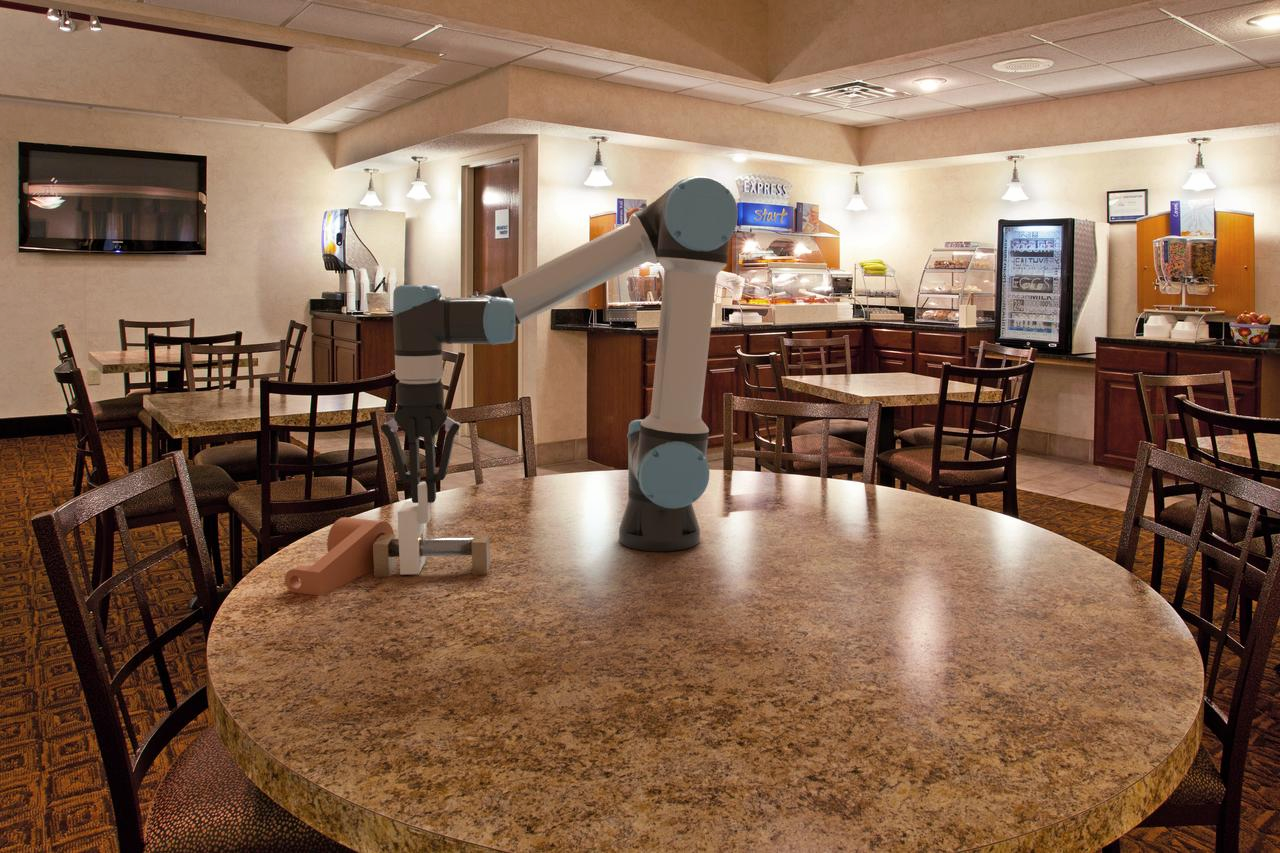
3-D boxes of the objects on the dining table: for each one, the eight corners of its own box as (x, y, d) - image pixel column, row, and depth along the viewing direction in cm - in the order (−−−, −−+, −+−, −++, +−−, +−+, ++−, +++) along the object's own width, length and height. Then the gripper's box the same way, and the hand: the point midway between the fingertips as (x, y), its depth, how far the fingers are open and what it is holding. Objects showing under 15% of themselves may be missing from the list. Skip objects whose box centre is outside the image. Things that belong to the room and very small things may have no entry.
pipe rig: (490, 563, 160) (489, 531, 159) (487, 574, 154) (486, 541, 154) (381, 565, 159) (380, 533, 158) (374, 577, 153) (372, 543, 152)
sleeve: (425, 561, 160) (423, 501, 158) (418, 574, 153) (416, 511, 151) (407, 561, 160) (405, 501, 158) (400, 574, 153) (397, 511, 151)
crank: (357, 555, 166) (355, 512, 164) (395, 560, 163) (393, 516, 162) (278, 591, 147) (275, 542, 146) (320, 597, 144) (317, 547, 143)
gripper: (462, 378, 156) (466, 515, 160) (383, 378, 155) (389, 516, 159) (457, 383, 148) (461, 526, 152) (374, 383, 147) (380, 528, 151)
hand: (424, 521), depth 155 cm, fingers closed
